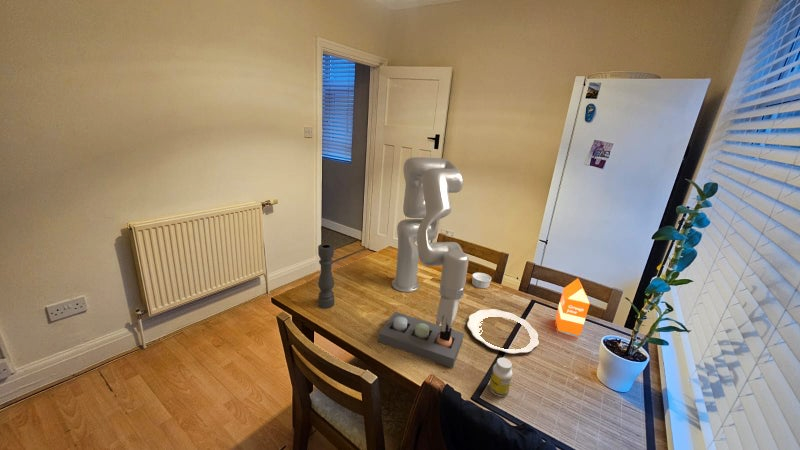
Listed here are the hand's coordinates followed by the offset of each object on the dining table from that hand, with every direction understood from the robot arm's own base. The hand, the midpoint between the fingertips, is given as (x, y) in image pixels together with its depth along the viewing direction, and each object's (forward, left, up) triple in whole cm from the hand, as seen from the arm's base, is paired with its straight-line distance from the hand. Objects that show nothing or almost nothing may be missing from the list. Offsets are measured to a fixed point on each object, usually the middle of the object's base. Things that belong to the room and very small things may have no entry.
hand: (444, 338), depth 104 cm
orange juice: (-34, +40, -5) cm, 53 cm away
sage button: (0, -8, -2) cm, 8 cm away
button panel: (0, -8, -5) cm, 9 cm away
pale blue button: (0, -16, -2) cm, 16 cm away
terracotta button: (0, 0, -3) cm, 3 cm away
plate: (-19, +17, -5) cm, 26 cm away
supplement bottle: (+9, +19, -5) cm, 21 cm away
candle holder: (-3, -49, -5) cm, 49 cm away
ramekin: (-52, +4, -5) cm, 52 cm away
